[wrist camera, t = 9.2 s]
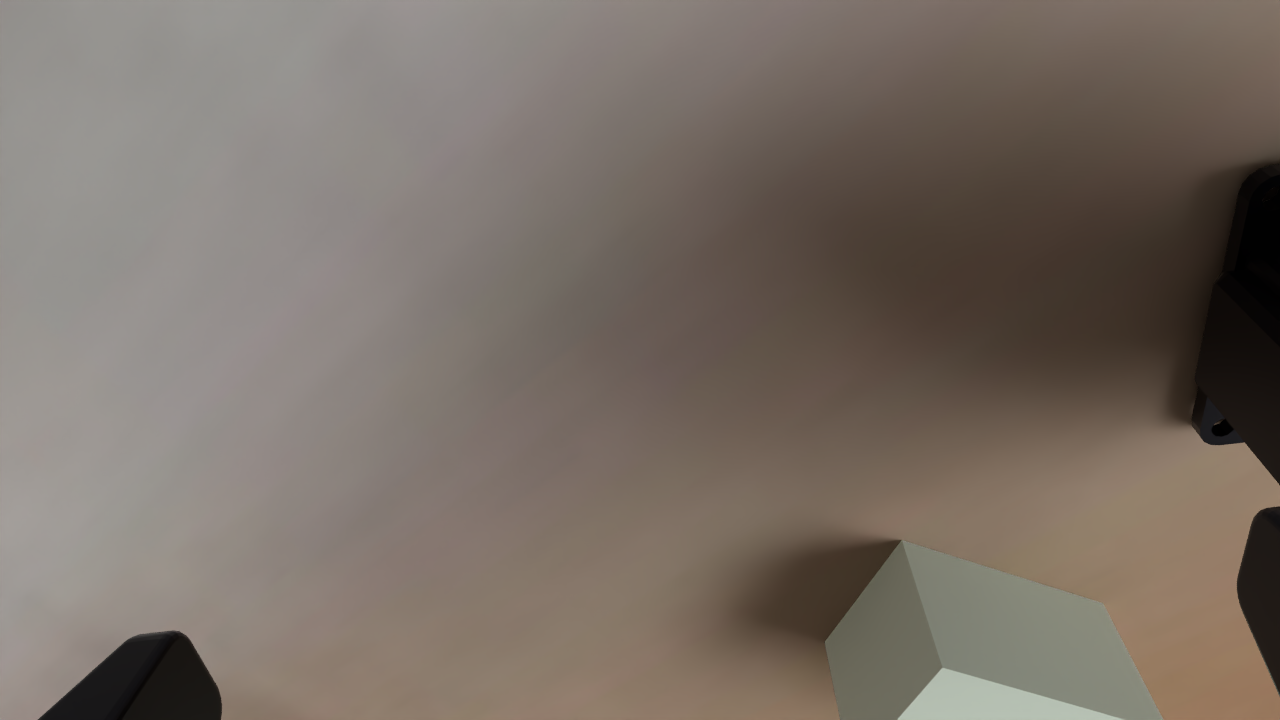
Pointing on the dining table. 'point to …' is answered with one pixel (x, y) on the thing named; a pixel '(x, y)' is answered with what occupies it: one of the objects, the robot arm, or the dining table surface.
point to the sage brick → (978, 648)
